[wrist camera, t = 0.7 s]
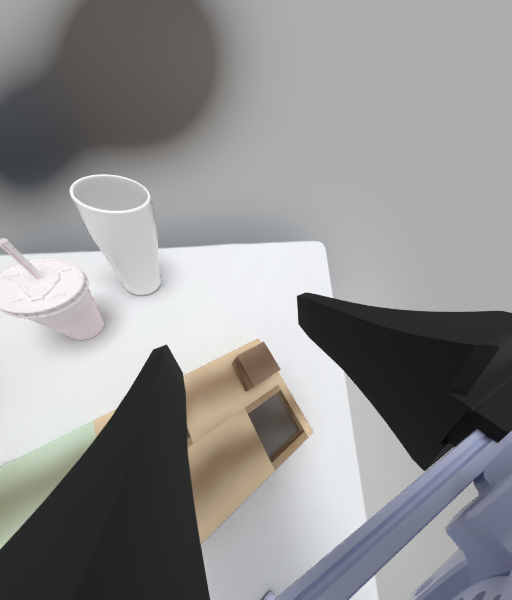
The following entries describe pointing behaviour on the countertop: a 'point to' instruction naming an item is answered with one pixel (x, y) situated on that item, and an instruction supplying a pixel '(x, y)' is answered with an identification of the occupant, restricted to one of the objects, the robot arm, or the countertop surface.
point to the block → (255, 366)
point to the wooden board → (200, 440)
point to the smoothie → (49, 295)
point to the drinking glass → (121, 227)
